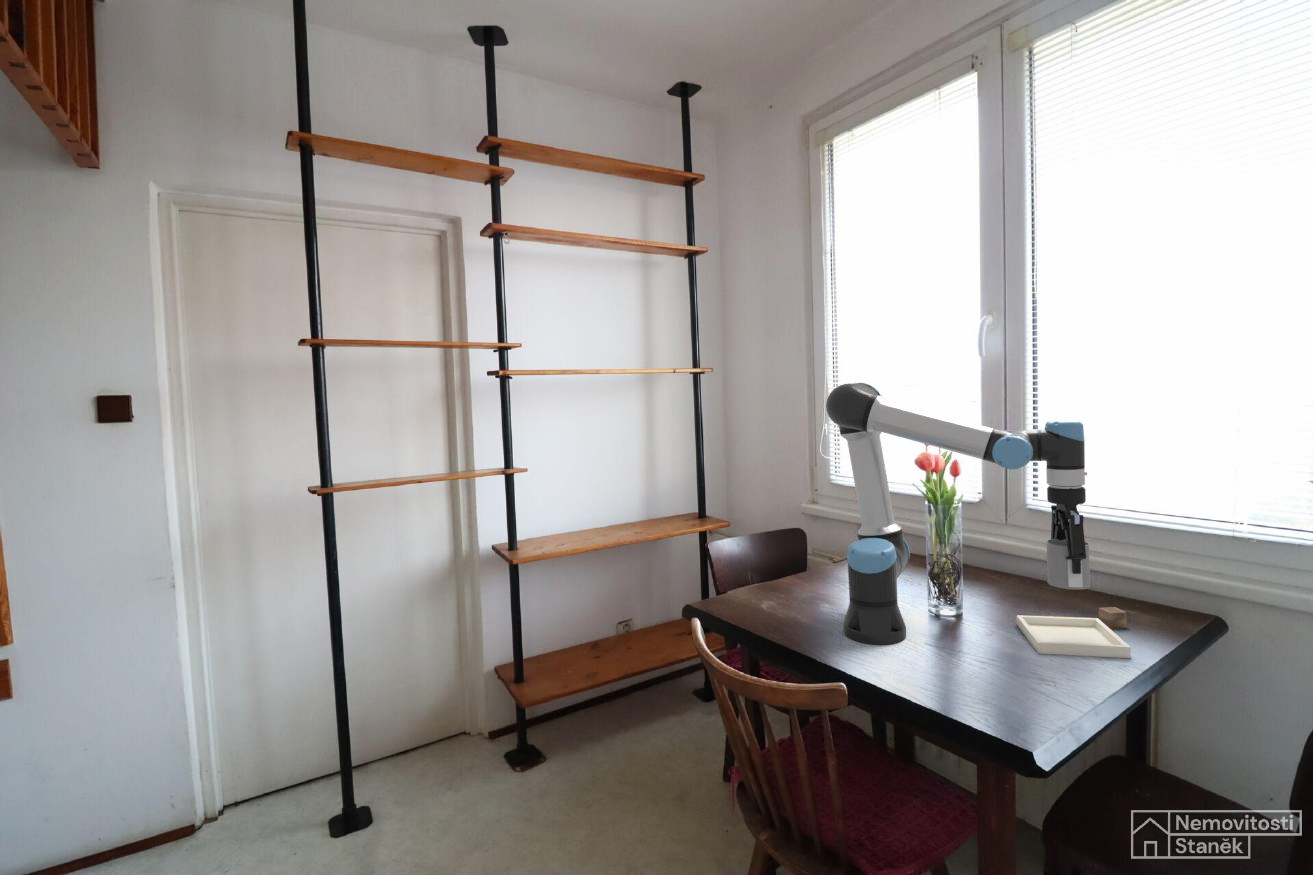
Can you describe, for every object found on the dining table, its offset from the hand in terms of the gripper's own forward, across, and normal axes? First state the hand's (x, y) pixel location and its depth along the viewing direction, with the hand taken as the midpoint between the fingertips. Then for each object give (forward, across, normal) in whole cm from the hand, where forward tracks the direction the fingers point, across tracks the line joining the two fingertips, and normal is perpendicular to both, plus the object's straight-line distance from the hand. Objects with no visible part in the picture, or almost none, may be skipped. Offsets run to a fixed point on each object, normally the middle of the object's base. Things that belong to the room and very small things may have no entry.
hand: (1068, 580), depth 146 cm
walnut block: (+15, +12, -13) cm, 23 cm away
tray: (+14, 0, 0) cm, 14 cm away
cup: (+1, 0, 0) cm, 1 cm away
